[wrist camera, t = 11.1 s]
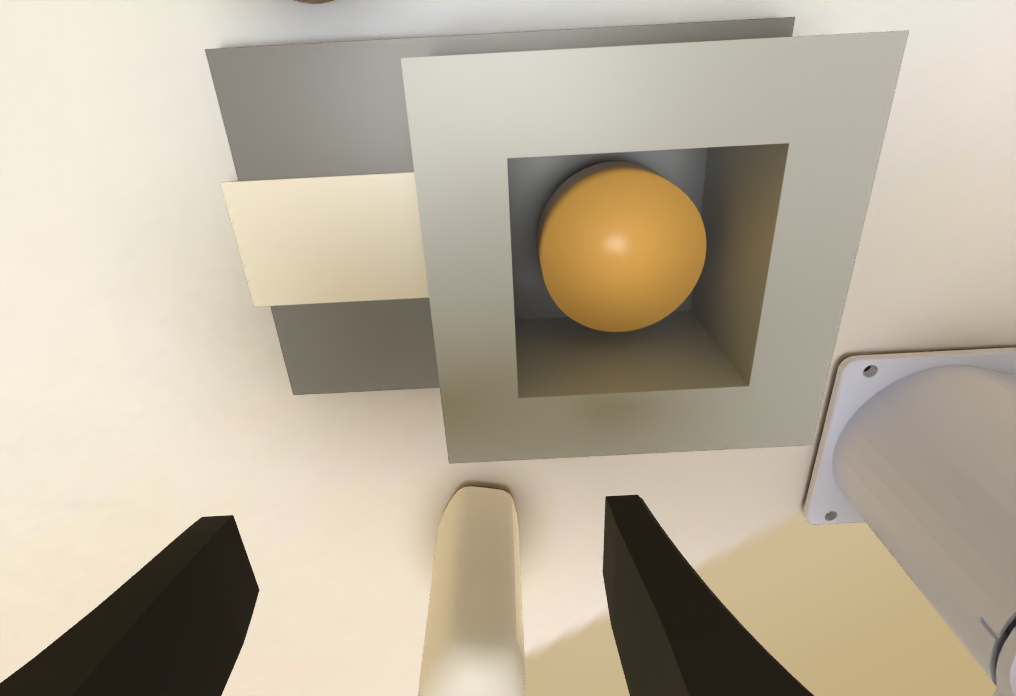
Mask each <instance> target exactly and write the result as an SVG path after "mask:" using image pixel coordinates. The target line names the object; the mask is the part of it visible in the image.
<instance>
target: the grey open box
mask: <svg viewBox="0 0 1016 696" xmlns="http://www.w3.org/2000/svg"><path fill="white" fill-rule="evenodd" d="M794 20H795V17H786V18H768V19H749V20H731V21H713V22H695V23H676V24H658V25H640V26H621V27H603V28H585V29H567V30H548V31H530V32H512V33H493V34H475V35H457V36H439V37H420V38H402V39H384V40H365V41H347V42H329V43H311V44H292V45H274V46H256V47H237V48H219V49H205V52H206V56H207V60H208V63H209V67H210V71H211V75H212V79H213V83H214V87H215V91H216V95H217V99H218V103H219V106H220V110H221V114H222V118H223V122H224V126H225V130H226V134H227V138H228V142H229V146H230V149H231V153H232V157H233V161H234V165H235V169H236V173H237V177H238V181H231V182H221V186H222V190H223V194H224V197H225V201H226V205H227V209H228V212H229V216H230V220H231V223H232V227H233V231H234V234H235V238H236V242H237V246H238V249H239V253H240V257H241V260H242V264H243V268H244V271H245V275H246V279H247V283H248V286H249V290H250V294H251V297H252V301H253V305H254V307H258V306H271V310H272V314H273V318H274V321H275V325H276V329H277V333H278V337H279V341H280V345H281V349H282V353H283V357H284V361H285V364H286V368H287V372H288V376H289V380H290V384H291V388H292V392H293V395H304V394H323V393H342V392H362V391H381V390H400V389H420V388H439V387H440V393H441V401H442V409H443V418H444V426H445V435H446V443H447V451H448V460H449V464H450V463H470V462H489V461H509V460H528V459H548V458H568V457H587V456H607V455H626V454H646V453H666V452H685V451H705V450H724V449H744V448H763V447H783V446H803V445H812V441H813V437H814V433H815V428H816V424H817V420H818V416H819V411H820V407H821V403H822V399H823V394H824V390H825V386H826V382H827V377H828V373H829V369H830V365H831V360H832V356H833V352H834V348H835V343H836V339H837V335H838V331H839V326H840V322H841V318H842V314H843V309H844V305H845V301H846V297H847V292H848V288H849V284H850V280H851V275H852V271H853V267H854V263H855V258H856V254H857V250H858V246H859V241H860V237H861V233H862V229H863V224H864V220H865V216H866V212H867V207H868V203H869V199H870V195H871V190H872V186H873V182H874V178H875V173H876V169H877V165H878V161H879V156H880V152H881V148H882V144H883V139H884V135H885V131H886V127H887V122H888V118H889V114H890V110H891V105H892V101H893V97H894V93H895V88H896V84H897V80H898V76H899V71H900V67H901V63H902V59H903V54H904V50H905V46H906V42H907V37H908V33H909V30H907V31H889V32H870V33H852V34H834V35H815V36H797V37H792V33H793V27H794ZM611 161H626V162H632V163H637V164H640V165H643V166H646V167H648V168H650V169H652V170H654V171H655V172H657V173H658V174H660V175H661V176H663V177H664V178H666V179H667V180H668V181H670V182H671V183H673V184H674V185H675V186H677V187H678V188H679V189H681V190H682V191H683V192H684V193H685V194H686V195H687V196H688V197H689V198H690V200H691V201H692V202H693V203H694V205H695V206H696V208H697V210H698V212H699V213H700V216H701V218H702V221H703V224H704V228H705V233H706V256H705V262H704V266H703V269H702V272H701V275H700V277H699V279H698V281H697V283H696V285H695V287H694V288H693V290H692V292H691V293H690V294H689V296H688V297H687V298H686V299H685V301H684V302H683V303H682V304H681V305H680V306H679V307H678V308H677V309H675V310H674V311H673V312H672V313H670V314H669V315H668V316H666V317H665V318H663V319H661V320H660V321H658V322H656V323H654V324H652V325H649V326H646V327H644V328H641V329H636V330H632V331H625V332H607V331H599V330H596V329H592V328H589V327H586V326H584V325H581V324H580V323H578V322H576V321H574V320H573V319H571V318H570V317H569V316H567V315H566V314H565V313H564V312H563V311H562V310H561V309H560V308H559V307H558V306H557V305H556V303H555V302H554V301H553V299H552V297H551V296H550V294H549V292H548V290H547V287H546V285H545V282H544V278H543V274H542V269H541V265H540V260H539V255H538V249H537V231H538V226H539V221H540V218H541V215H542V212H543V210H544V208H545V206H546V204H547V202H548V201H549V199H550V198H551V196H552V195H553V193H554V192H555V191H556V190H557V189H558V187H559V186H561V185H562V184H563V183H564V182H565V181H566V180H567V179H568V178H570V177H571V176H573V175H574V174H576V173H577V172H579V171H581V170H583V169H585V168H587V167H590V166H592V165H595V164H599V163H603V162H611Z"/></svg>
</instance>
